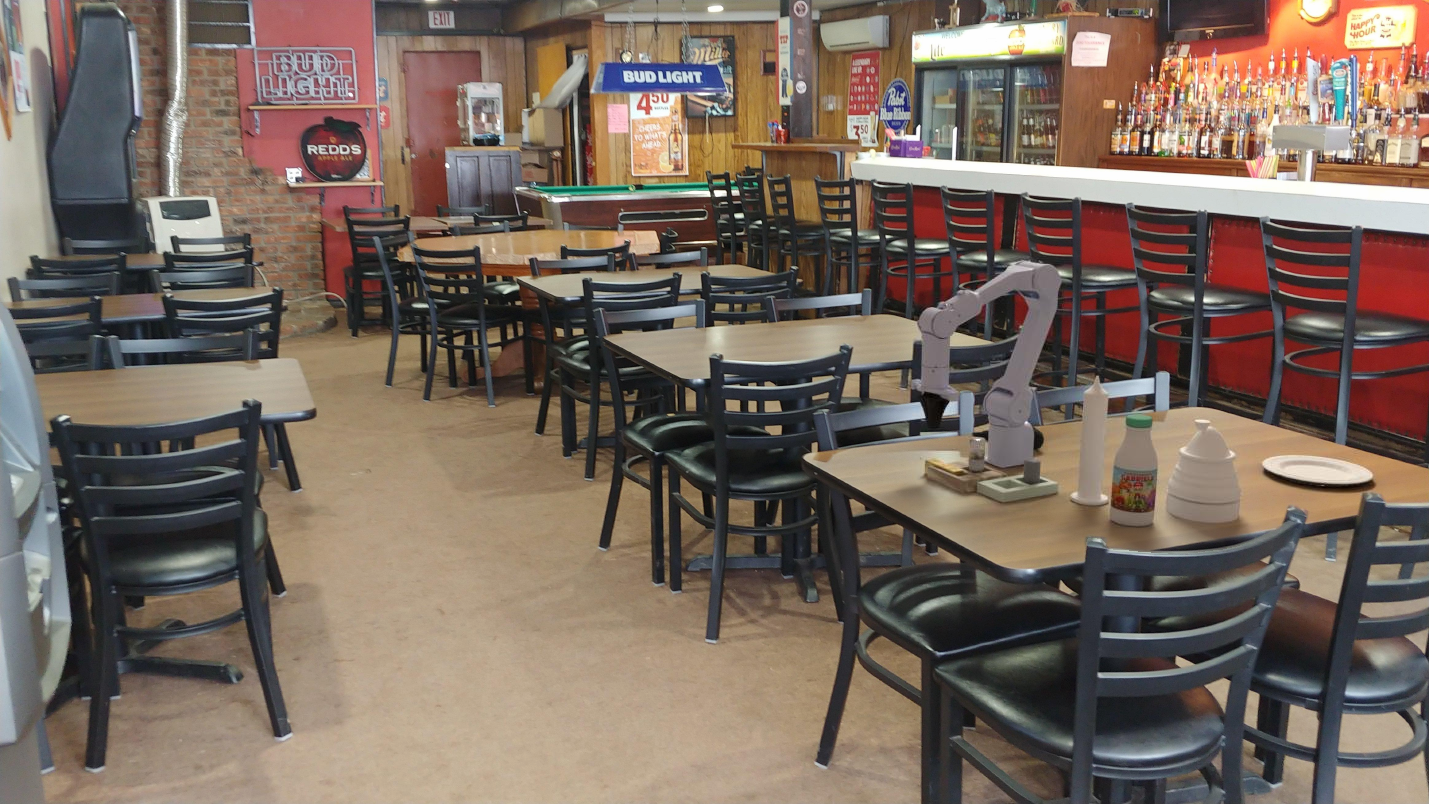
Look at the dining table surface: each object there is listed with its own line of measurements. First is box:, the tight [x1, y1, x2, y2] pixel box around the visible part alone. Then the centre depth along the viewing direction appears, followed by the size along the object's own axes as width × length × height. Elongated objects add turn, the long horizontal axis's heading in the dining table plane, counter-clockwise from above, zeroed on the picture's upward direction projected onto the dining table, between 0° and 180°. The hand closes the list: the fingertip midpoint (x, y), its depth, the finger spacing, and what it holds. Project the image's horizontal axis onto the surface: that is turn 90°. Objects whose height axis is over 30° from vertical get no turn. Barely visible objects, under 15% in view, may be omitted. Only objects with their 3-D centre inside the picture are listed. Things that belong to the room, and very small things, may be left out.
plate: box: [1261, 454, 1374, 487], centre depth 240 cm, size 21×21×2 cm
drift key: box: [924, 458, 964, 477], centre depth 239 cm, size 2×10×3 cm, turn 26°
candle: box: [1069, 375, 1110, 506], centre depth 222 cm, size 7×7×25 cm
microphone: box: [971, 426, 1045, 451], centre depth 266 cm, size 6×6×20 cm
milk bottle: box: [1109, 413, 1159, 528], centre depth 210 cm, size 8×8×20 cm
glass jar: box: [968, 436, 986, 474], centre depth 237 cm, size 3×3×9 cm
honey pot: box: [1165, 419, 1242, 524], centre depth 216 cm, size 13×13×18 cm
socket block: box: [927, 459, 1008, 494], centre depth 237 cm, size 11×12×2 cm
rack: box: [976, 458, 1060, 503], centre depth 230 cm, size 14×8×6 cm, turn 116°
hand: (933, 428), depth 243 cm, fingers closed
